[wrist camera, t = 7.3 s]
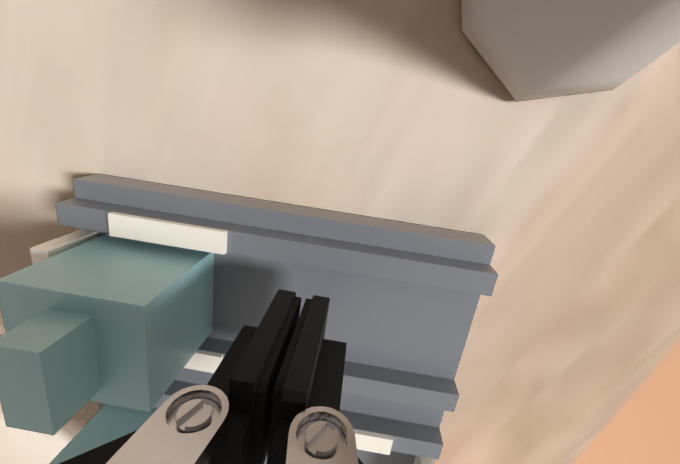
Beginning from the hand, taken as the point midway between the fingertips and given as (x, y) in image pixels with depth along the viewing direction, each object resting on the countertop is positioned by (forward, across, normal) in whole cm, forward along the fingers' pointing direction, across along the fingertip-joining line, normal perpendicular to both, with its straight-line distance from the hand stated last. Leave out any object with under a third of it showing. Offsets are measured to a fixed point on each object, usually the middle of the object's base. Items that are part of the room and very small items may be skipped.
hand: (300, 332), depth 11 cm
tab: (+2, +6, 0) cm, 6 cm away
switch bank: (+3, +2, +4) cm, 5 cm away
